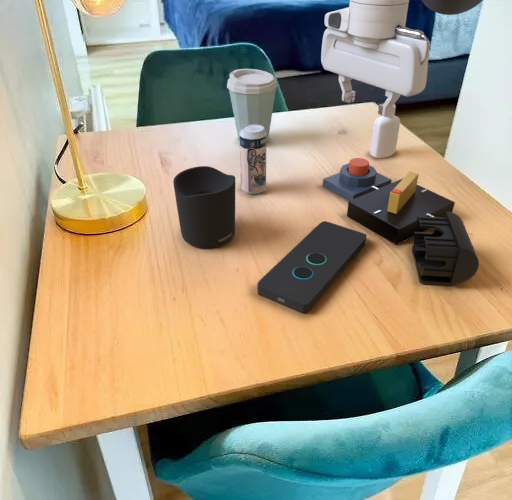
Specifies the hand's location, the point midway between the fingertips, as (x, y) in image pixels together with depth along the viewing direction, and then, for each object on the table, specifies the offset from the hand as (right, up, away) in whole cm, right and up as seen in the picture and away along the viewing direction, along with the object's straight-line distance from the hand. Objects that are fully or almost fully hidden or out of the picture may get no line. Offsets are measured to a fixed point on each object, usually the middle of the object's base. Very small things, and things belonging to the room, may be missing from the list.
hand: (365, 108), depth 87 cm
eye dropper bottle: (+8, -4, +21) cm, 23 cm away
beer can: (-19, -13, +9) cm, 25 cm away
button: (0, -10, +7) cm, 12 cm away
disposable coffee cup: (-19, 0, +27) cm, 33 cm away
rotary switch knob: (+6, -16, -2) cm, 17 cm away
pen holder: (-27, -22, -4) cm, 35 cm away
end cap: (+8, -27, -12) cm, 31 cm away
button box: (0, -12, +9) cm, 15 cm away
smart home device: (-10, -27, -11) cm, 31 cm away
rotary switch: (+6, -19, 0) cm, 19 cm away
